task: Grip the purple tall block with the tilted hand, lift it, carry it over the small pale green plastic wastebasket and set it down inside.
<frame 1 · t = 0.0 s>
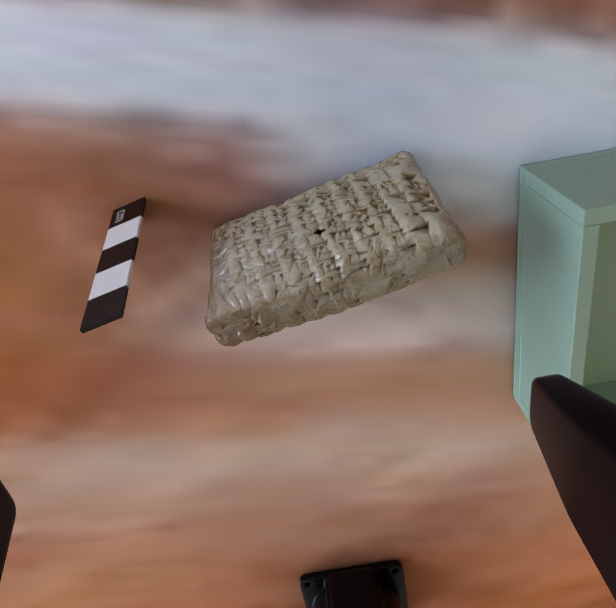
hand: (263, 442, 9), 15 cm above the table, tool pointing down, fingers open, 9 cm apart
cuneiform tablet: (275, 210, 23), on the table
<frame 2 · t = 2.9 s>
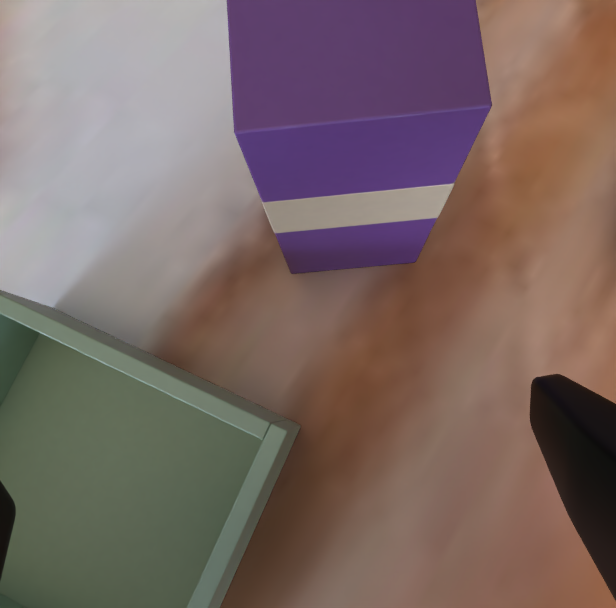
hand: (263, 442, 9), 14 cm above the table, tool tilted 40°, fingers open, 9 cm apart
purple tall block: (349, 228, 24), on the table
bin: (110, 488, 22), on the table
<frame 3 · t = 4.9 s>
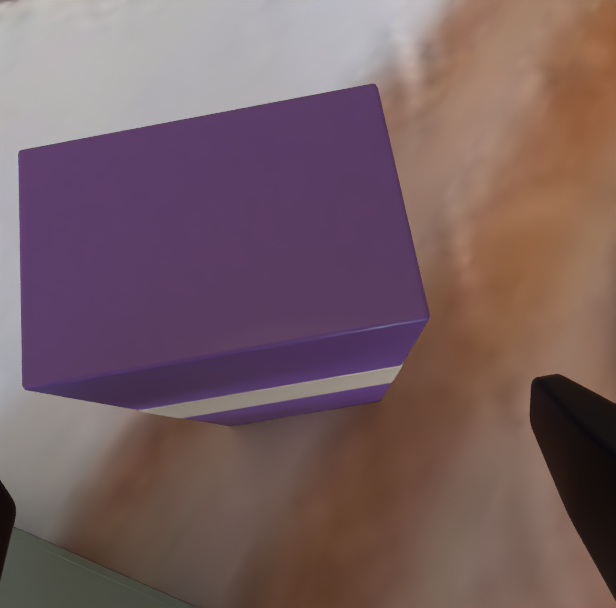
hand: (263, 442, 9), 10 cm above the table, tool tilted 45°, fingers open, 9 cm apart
purple tall block: (296, 363, 19), on the table
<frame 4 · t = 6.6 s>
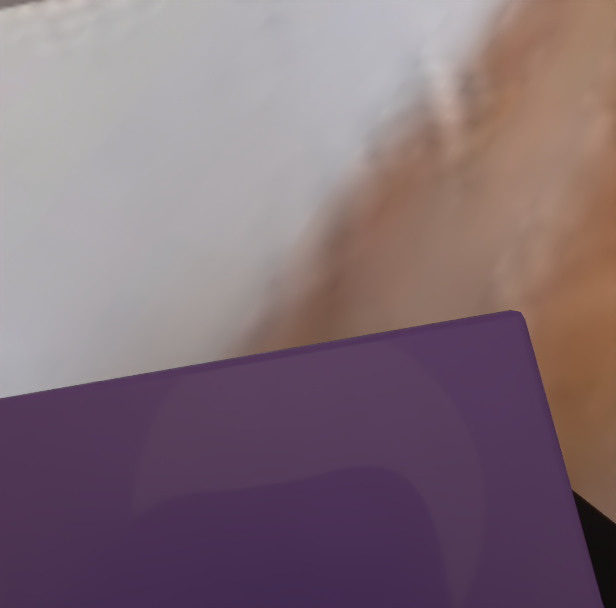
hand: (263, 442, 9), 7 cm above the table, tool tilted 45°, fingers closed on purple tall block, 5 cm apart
purple tall block: (306, 494, 15), on the table, touching gripper
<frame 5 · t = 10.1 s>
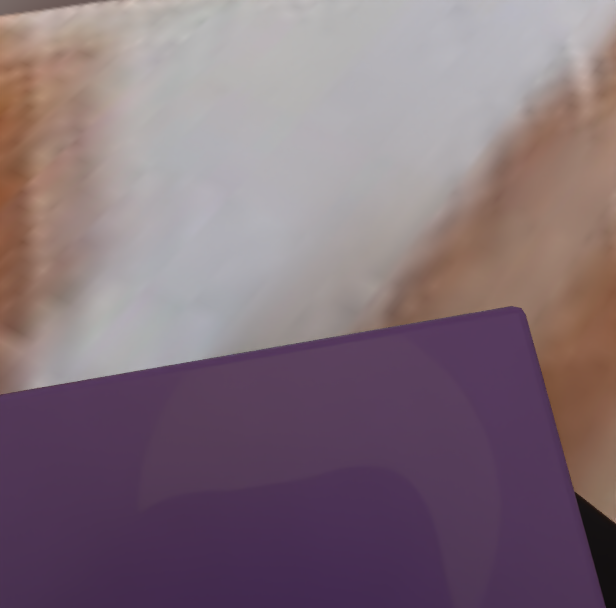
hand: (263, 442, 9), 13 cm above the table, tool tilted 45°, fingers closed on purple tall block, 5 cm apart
purple tall block: (307, 493, 15), point 7 cm above the table, touching gripper
when the fingers open (7 cm above the table, at t = 13.5 s): purple tall block stays where it is, resting on bin.
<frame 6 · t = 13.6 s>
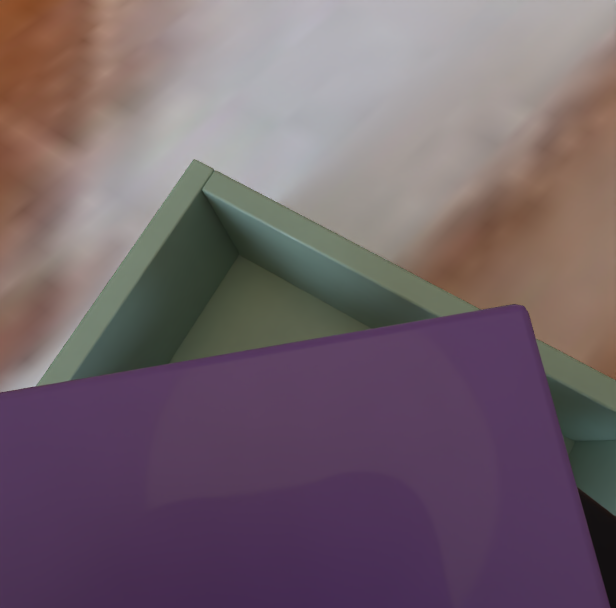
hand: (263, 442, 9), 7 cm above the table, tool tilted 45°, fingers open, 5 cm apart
purple tall block: (307, 497, 15), point 1 cm above the table, touching bin
bin: (310, 494, 16), on the table
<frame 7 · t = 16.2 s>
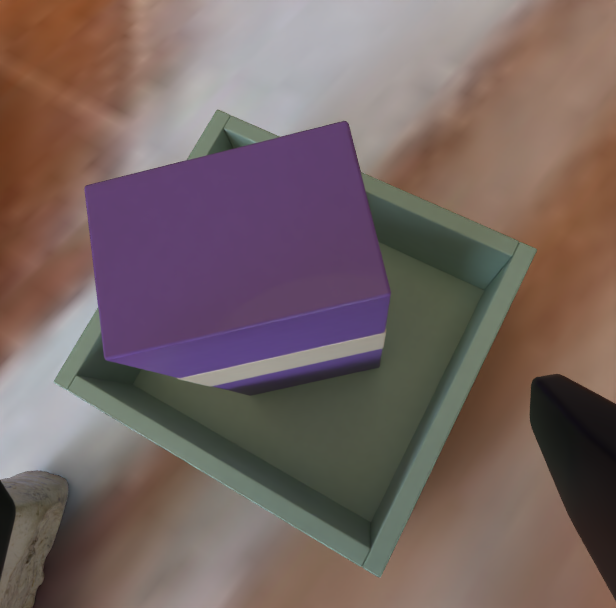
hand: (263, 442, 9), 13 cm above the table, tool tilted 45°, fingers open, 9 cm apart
purple tall block: (305, 338, 22), point 1 cm above the table, touching bin
bin: (307, 341, 23), on the table
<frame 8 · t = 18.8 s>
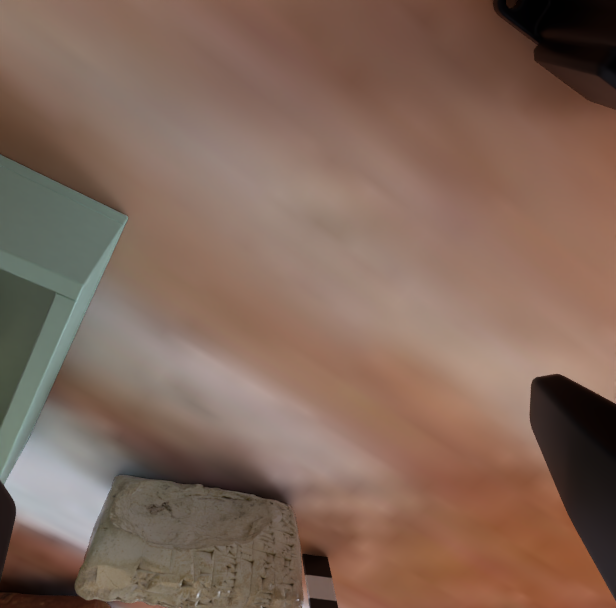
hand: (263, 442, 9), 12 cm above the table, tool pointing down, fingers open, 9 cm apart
cuneiform tablet: (232, 505, 27), on the table
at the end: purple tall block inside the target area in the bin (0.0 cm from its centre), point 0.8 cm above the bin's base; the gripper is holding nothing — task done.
